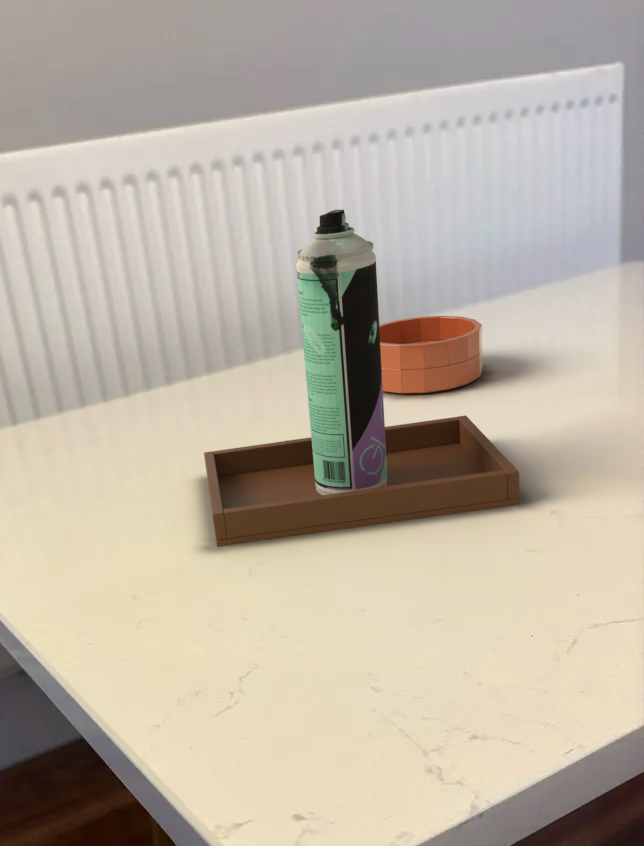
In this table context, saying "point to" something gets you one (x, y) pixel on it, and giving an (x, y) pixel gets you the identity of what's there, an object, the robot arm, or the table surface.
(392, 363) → the bowl
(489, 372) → the table surface
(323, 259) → the spray can
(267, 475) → the tray
